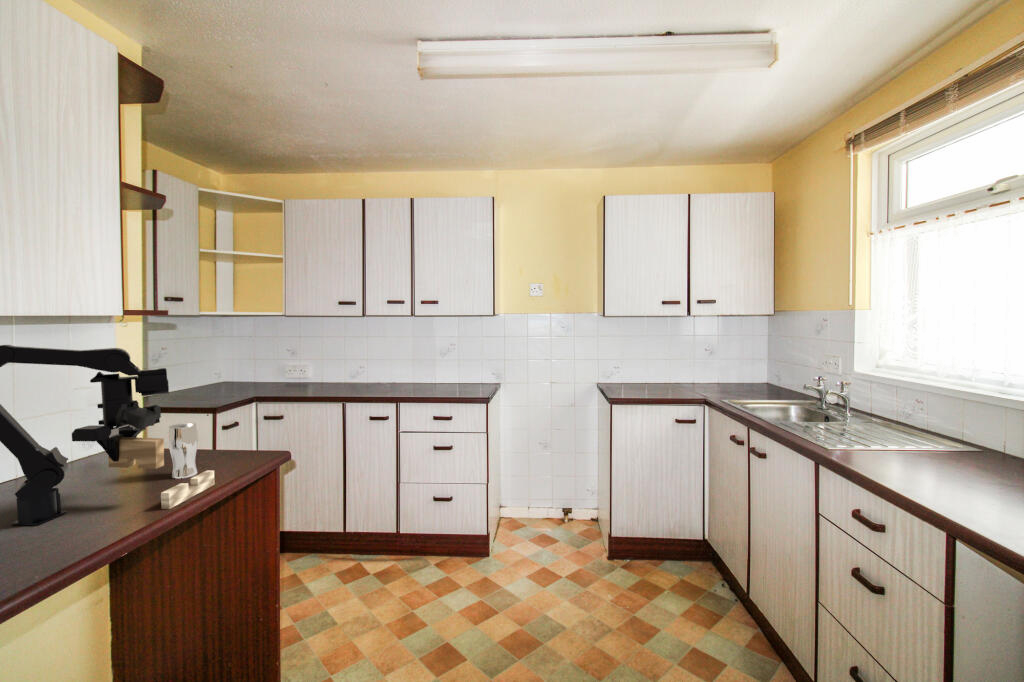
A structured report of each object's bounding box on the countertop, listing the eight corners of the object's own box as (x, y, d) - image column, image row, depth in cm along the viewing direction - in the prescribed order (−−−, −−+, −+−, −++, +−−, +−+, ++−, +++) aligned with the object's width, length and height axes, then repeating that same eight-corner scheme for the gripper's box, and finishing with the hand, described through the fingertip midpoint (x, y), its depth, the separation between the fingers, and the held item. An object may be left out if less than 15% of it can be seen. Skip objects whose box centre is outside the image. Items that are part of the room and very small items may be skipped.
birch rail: (169, 509, 109) (168, 493, 108) (161, 508, 109) (160, 492, 108) (214, 484, 125) (214, 470, 124) (207, 484, 125) (207, 470, 124)
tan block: (155, 468, 111) (155, 441, 110) (108, 467, 111) (108, 439, 110) (164, 465, 113) (163, 438, 113) (117, 463, 113) (117, 436, 113)
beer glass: (194, 477, 130) (191, 427, 129) (165, 480, 128) (163, 429, 127) (202, 470, 136) (200, 421, 135) (175, 472, 134) (173, 423, 133)
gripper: (115, 405, 102) (119, 472, 102) (177, 391, 120) (180, 448, 121) (67, 406, 102) (71, 472, 103) (137, 391, 120) (140, 448, 121)
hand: (121, 459), depth 112 cm, fingers closed on tan block, 2 cm apart
